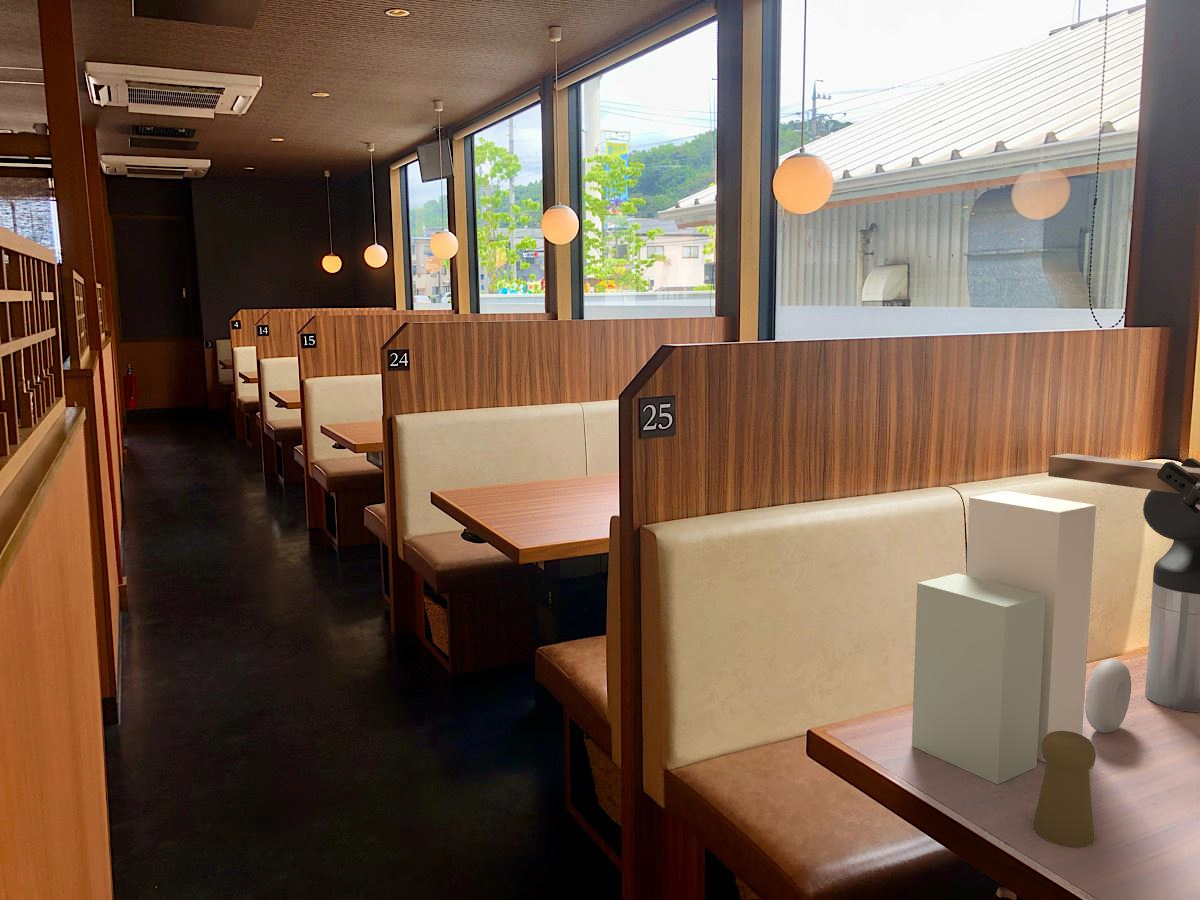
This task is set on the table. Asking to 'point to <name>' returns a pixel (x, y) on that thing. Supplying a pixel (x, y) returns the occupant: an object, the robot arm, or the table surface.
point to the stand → (1006, 636)
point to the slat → (1112, 471)
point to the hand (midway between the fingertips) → (1173, 466)
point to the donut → (1108, 695)
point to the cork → (1066, 790)
